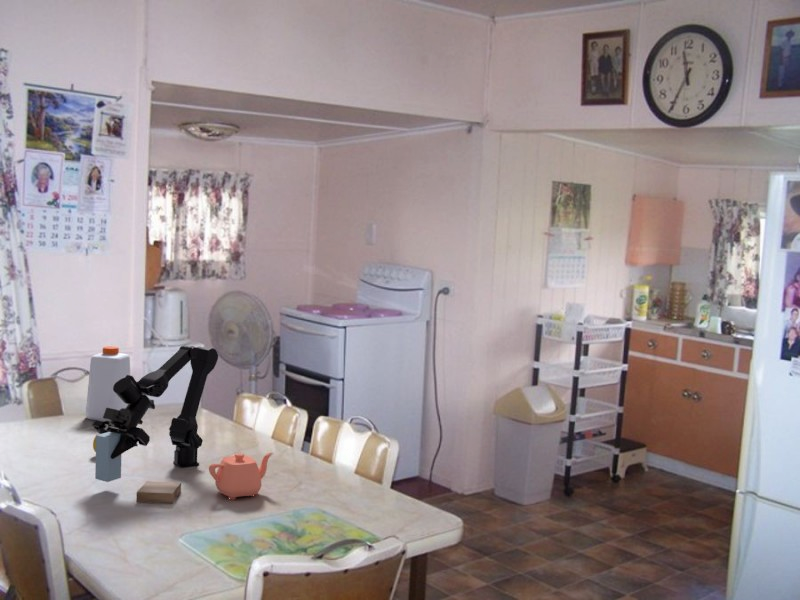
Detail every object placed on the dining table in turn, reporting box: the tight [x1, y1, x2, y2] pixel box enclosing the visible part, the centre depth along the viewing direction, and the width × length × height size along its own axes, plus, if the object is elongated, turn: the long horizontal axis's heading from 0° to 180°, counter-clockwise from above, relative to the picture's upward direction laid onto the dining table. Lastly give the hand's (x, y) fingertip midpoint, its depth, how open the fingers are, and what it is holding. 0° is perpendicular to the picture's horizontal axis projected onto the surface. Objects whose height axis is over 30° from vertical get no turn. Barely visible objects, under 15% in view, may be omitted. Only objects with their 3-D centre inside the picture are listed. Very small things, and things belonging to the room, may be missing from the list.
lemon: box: [92, 433, 100, 453], centre depth 275 cm, size 6×6×8 cm
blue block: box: [94, 432, 122, 483], centre depth 241 cm, size 5×5×13 cm
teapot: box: [208, 452, 274, 500], centre depth 244 cm, size 13×20×12 cm, turn 122°
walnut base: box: [135, 480, 182, 505], centre depth 238 cm, size 10×10×3 cm
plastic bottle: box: [85, 345, 131, 422], centre depth 327 cm, size 15×15×28 cm
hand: (104, 456), depth 240 cm, fingers closed on blue block, 5 cm apart
